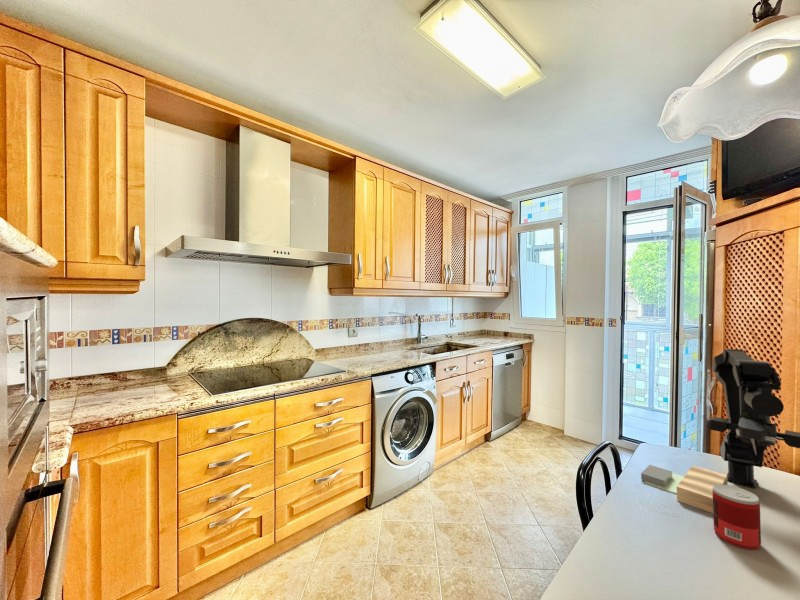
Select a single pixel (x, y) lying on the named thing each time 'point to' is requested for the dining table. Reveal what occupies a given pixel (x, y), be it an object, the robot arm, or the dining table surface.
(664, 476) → the pale grey box
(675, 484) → the mat
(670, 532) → the dining table surface
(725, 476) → the deck
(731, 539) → the canned food
